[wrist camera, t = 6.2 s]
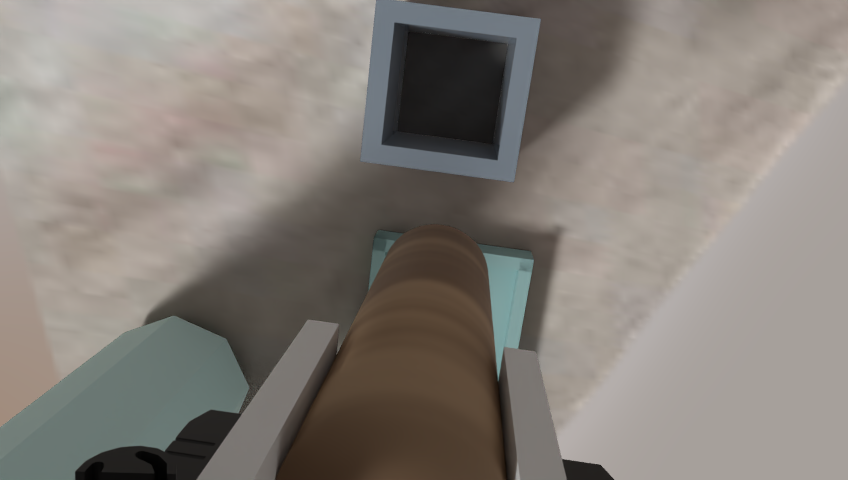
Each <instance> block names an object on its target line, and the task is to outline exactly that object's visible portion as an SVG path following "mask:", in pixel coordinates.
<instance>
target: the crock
mask: <svg viewBox="0 0 848 480" xmlns="http://www.w3.org/2000/svg"><path fill="white" fill-rule="evenodd" d="M540 22H541V19H538V18H530V17H522V16H514V15H506V14H498V13H490V12H482V11H475V10H467V9H459V8H451V7H443V6H435V5H427V4H419V3H412V2H404V1H396V0H376V7H375V17H374V27H373V37H372V47H371V57H370V67H369V77H368V87H367V97H366V108H365V118H364V128H363V138H362V148H361V158H360V161H361V162H368V163H375V164H383V165H390V166H397V167H405V168H412V169H419V170H427V171H434V172H442V173H449V174H456V175H464V176H471V177H478V178H486V179H493V180H500V181H508V182H514V179H515V173H516V167H517V161H518V155H519V149H520V143H521V137H522V131H523V125H524V119H525V113H526V107H527V100H528V94H529V88H530V82H531V76H532V70H533V64H534V58H535V52H536V46H537V40H538V34H539V28H540ZM409 31H410V32H418V33H426V34H434V35H441V36H449V37H457V38H465V39H473V40H480V41H488V42H496V43H504V44H508V47H507V53H506V60H505V66H504V73H503V79H502V86H501V92H500V99H499V105H498V112H497V118H496V125H495V131H494V138H493V144H489V143H481V142H474V141H466V140H459V139H451V138H444V137H436V136H429V135H421V134H414V133H407V132H399V131H397V129H398V121H399V112H400V103H401V94H402V85H403V76H404V68H405V59H406V50H407V41H408V32H409Z"/></svg>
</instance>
